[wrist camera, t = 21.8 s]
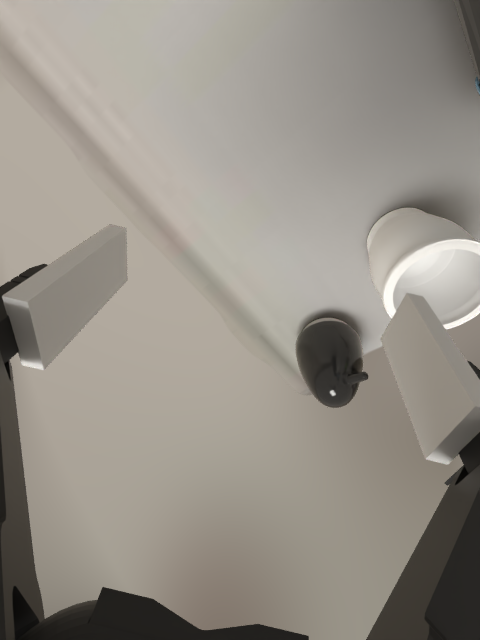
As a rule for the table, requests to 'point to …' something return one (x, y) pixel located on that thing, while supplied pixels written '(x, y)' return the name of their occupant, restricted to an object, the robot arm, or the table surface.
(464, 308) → the jar
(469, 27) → the robot arm
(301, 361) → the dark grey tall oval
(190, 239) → the table surface
